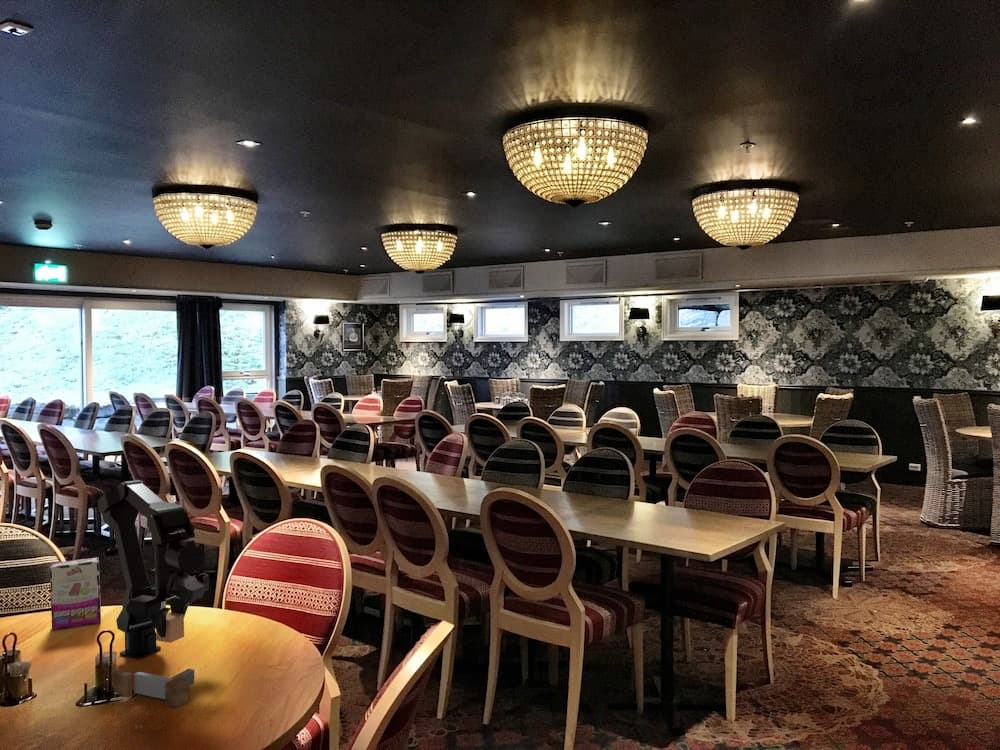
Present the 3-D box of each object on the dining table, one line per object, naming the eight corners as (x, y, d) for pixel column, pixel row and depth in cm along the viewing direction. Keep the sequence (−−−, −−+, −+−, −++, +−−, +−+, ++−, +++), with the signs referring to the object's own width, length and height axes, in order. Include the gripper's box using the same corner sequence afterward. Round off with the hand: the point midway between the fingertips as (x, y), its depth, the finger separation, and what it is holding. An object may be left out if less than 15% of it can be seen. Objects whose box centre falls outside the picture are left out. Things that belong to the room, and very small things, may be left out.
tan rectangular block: (156, 640, 170) (156, 618, 170) (170, 634, 174) (169, 612, 174) (170, 642, 169) (170, 620, 169) (184, 636, 173) (183, 614, 172)
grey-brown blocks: (102, 691, 161) (101, 670, 161) (114, 685, 164) (113, 664, 164) (177, 707, 154) (176, 685, 154) (188, 701, 156) (187, 679, 156)
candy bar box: (100, 617, 205) (99, 556, 204) (101, 623, 200) (99, 561, 200) (52, 624, 200) (50, 561, 199) (51, 631, 195) (49, 566, 194)
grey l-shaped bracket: (134, 692, 160) (134, 673, 160) (159, 679, 166) (159, 661, 166) (170, 700, 156) (169, 681, 156) (194, 686, 162) (194, 668, 162)
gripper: (164, 579, 159) (166, 654, 160) (227, 556, 177) (228, 624, 177) (123, 574, 163) (125, 647, 164) (189, 552, 181) (190, 618, 181)
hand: (170, 633), depth 171 cm, fingers closed on tan rectangular block, 4 cm apart
